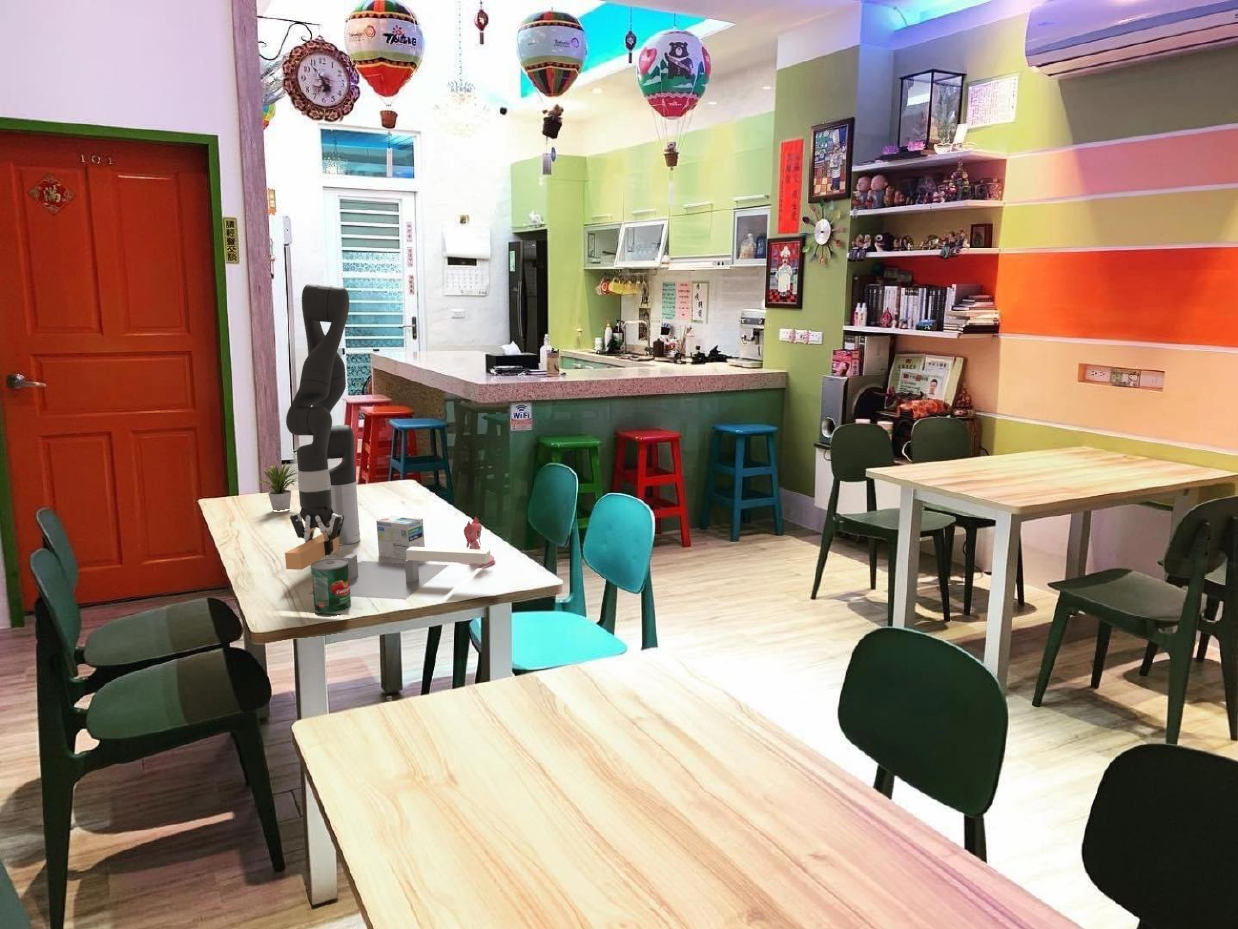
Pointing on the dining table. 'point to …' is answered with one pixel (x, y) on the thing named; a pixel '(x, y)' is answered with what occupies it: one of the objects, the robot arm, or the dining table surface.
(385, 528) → the light bulb box
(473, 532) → the toy figure
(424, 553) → the cream bar
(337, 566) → the canned tomato
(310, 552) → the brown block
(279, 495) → the house plant
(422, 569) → the cable board
